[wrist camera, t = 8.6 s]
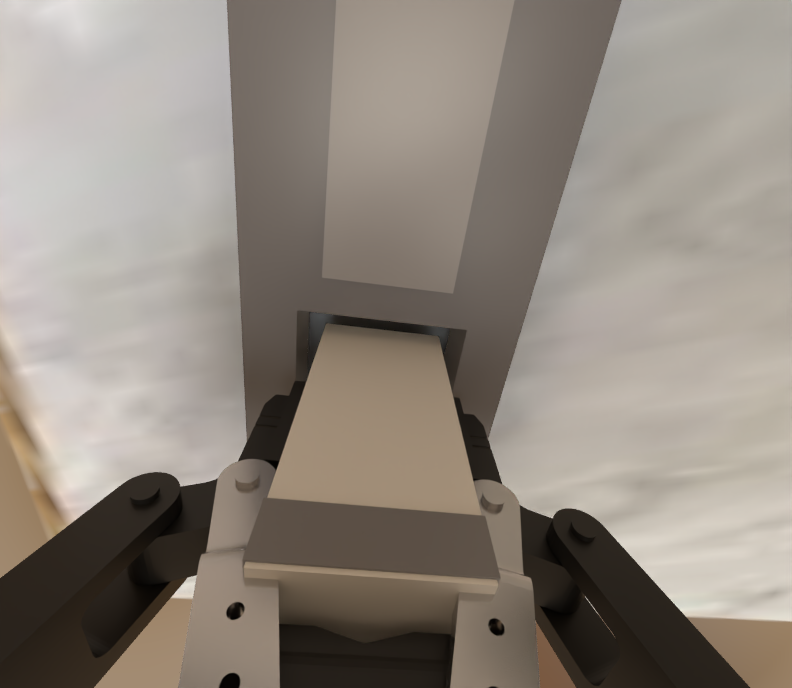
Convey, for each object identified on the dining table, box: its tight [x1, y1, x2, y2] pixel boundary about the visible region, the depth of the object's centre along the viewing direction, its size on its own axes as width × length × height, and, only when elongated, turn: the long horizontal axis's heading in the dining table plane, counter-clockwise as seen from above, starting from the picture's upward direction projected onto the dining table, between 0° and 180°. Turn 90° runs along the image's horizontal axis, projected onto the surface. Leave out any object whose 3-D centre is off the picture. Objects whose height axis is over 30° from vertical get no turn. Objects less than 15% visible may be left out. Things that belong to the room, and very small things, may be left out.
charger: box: [242, 323, 501, 643], centre depth 11 cm, size 4×4×9 cm
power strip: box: [227, 0, 621, 441], centre depth 11 cm, size 29×9×3 cm, turn 172°
